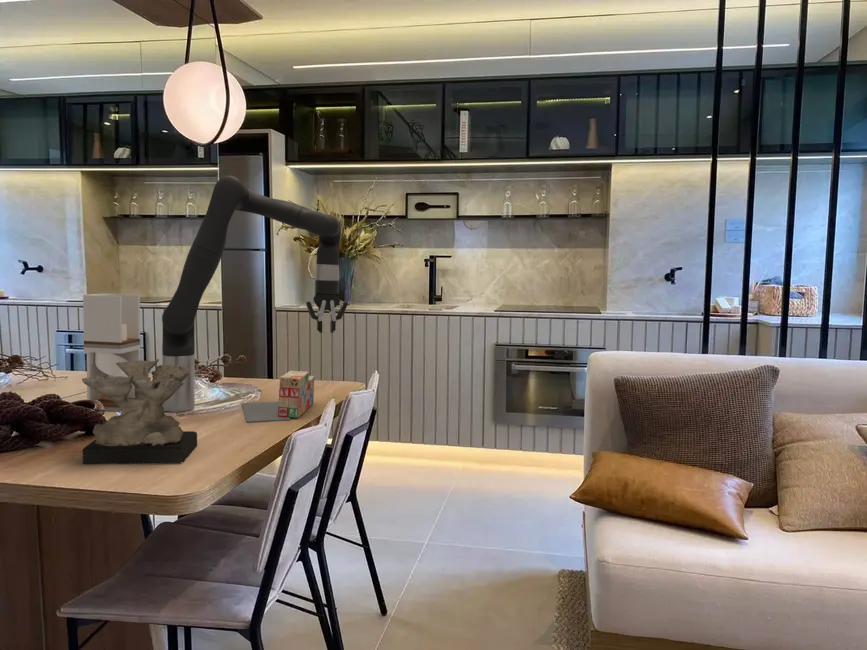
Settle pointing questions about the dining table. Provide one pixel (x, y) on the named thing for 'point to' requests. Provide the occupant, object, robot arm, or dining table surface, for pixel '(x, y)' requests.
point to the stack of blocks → (295, 393)
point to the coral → (140, 418)
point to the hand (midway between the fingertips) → (326, 332)
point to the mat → (262, 412)
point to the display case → (110, 338)
